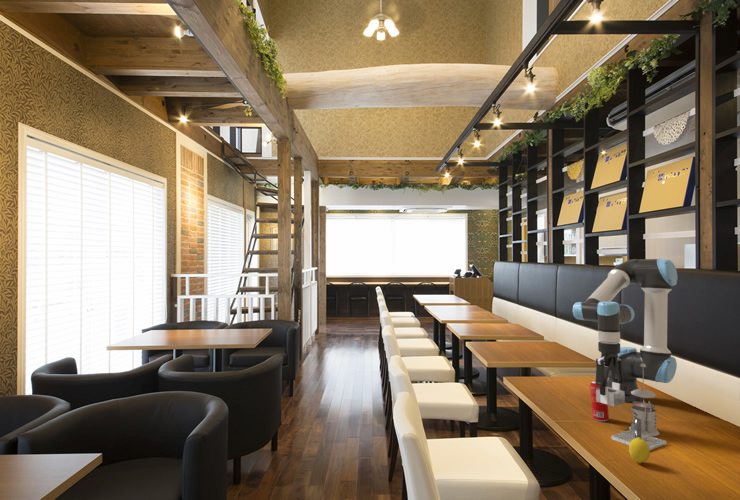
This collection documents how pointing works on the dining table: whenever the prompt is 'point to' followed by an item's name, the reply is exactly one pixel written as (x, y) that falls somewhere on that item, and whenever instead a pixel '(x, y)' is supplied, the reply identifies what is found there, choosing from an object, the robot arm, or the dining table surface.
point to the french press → (644, 411)
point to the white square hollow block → (613, 396)
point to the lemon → (639, 450)
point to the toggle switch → (631, 434)
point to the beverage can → (598, 404)
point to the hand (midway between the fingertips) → (610, 401)
